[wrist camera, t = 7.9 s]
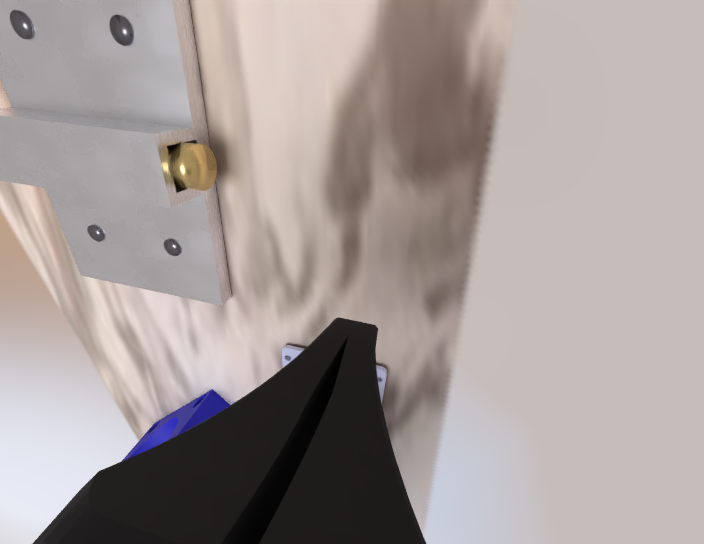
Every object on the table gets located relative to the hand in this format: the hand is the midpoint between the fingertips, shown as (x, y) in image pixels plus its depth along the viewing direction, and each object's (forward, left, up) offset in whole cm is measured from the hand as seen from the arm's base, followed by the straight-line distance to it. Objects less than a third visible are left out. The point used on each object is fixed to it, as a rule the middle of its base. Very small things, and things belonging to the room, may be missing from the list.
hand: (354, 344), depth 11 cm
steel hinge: (+3, +17, -9) cm, 20 cm away
